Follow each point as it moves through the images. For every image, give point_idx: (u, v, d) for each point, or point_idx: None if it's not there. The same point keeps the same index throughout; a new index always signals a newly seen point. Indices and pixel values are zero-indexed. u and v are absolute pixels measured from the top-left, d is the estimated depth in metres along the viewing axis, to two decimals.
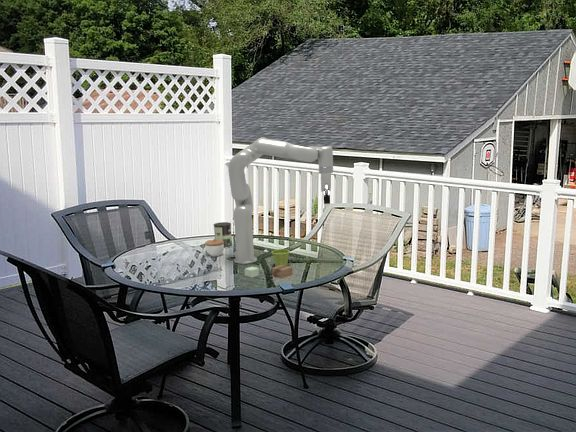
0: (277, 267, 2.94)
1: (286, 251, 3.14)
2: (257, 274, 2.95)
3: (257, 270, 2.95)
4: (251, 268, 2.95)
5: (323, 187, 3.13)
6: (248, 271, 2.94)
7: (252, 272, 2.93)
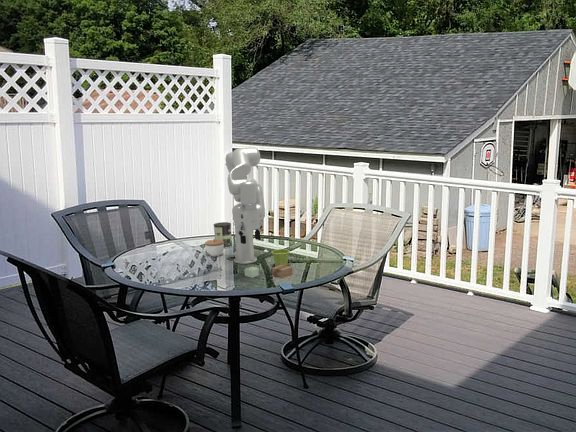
0: (277, 267, 2.94)
1: (286, 251, 3.14)
2: (257, 274, 2.95)
3: (257, 270, 2.95)
4: (251, 268, 2.95)
5: None
6: (248, 271, 2.94)
7: (252, 272, 2.93)
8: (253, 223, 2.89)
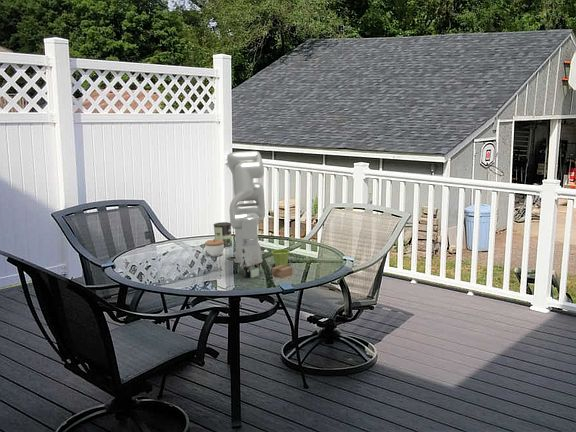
0: (277, 267, 2.94)
1: (286, 251, 3.14)
2: (257, 274, 2.95)
3: (257, 270, 2.95)
4: (251, 268, 2.95)
5: None
6: None
7: (252, 272, 2.93)
8: (254, 258, 2.92)
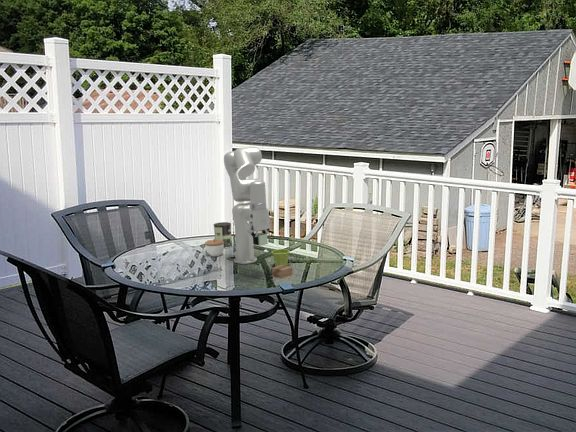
0: (277, 267, 2.94)
1: (286, 251, 3.14)
2: (265, 240, 2.91)
3: (265, 236, 2.91)
4: (259, 234, 2.91)
5: None
6: None
7: (260, 237, 2.89)
8: (263, 223, 2.89)
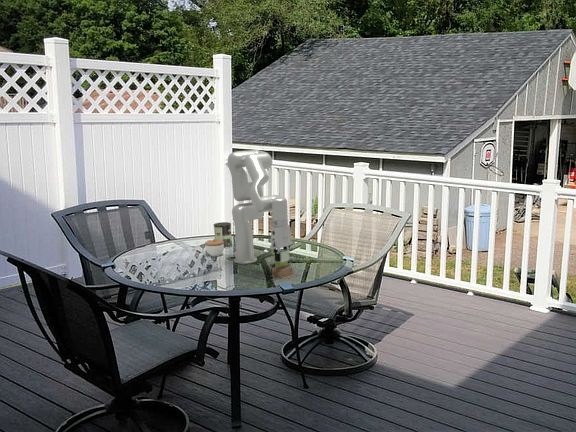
0: (277, 267, 2.94)
1: None
2: (287, 256, 2.92)
3: (287, 252, 2.92)
4: (281, 250, 2.92)
5: None
6: None
7: (282, 254, 2.89)
8: (284, 239, 2.89)
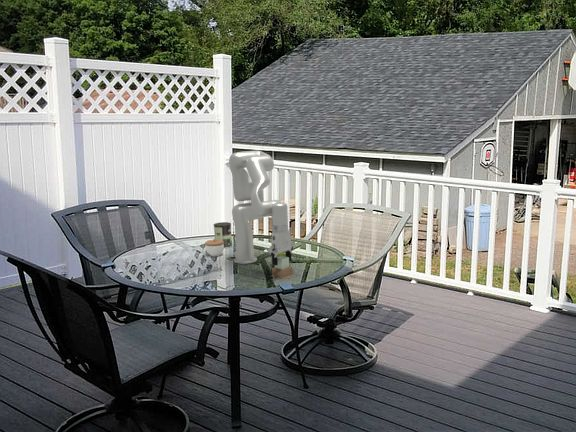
0: None
1: None
2: (287, 263, 2.93)
3: (287, 259, 2.93)
4: (281, 257, 2.93)
5: None
6: (278, 260, 2.91)
7: (282, 261, 2.90)
8: (285, 244, 2.90)
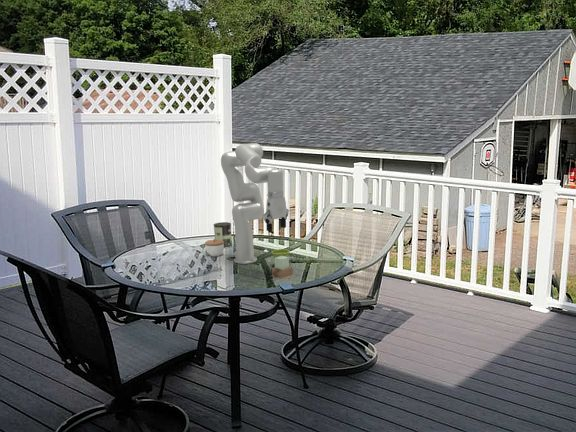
0: None
1: (286, 251, 3.14)
2: (287, 263, 2.93)
3: (287, 259, 2.93)
4: (281, 257, 2.93)
5: None
6: (278, 260, 2.91)
7: (282, 261, 2.90)
8: (279, 211, 2.90)
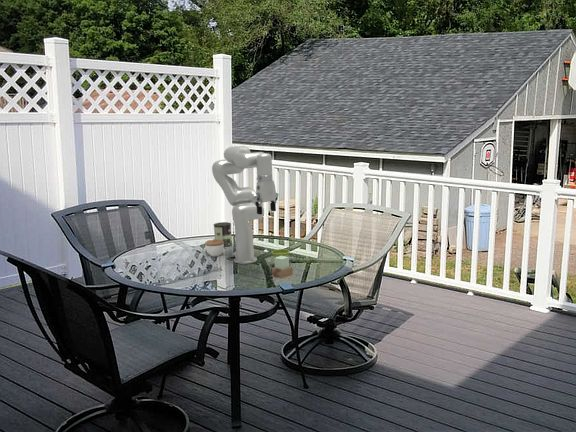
0: None
1: (286, 251, 3.14)
2: (287, 263, 2.93)
3: (287, 259, 2.93)
4: (281, 257, 2.93)
5: None
6: (278, 260, 2.91)
7: (282, 261, 2.90)
8: (269, 194, 2.98)
